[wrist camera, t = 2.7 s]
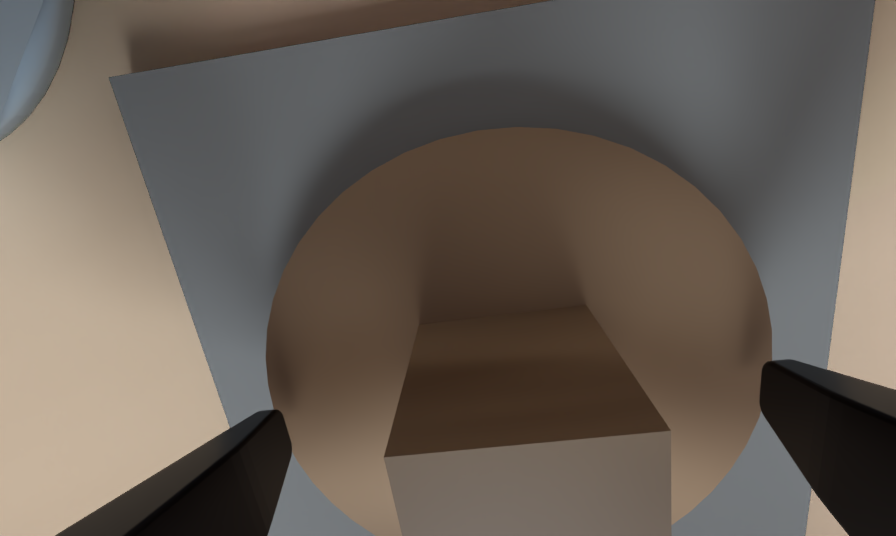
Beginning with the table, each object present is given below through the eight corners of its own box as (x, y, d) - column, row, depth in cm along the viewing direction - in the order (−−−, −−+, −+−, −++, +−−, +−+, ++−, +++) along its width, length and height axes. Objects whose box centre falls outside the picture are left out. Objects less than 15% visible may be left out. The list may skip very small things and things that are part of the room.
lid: (727, 512, 11) (914, 788, 6) (342, 541, 12) (261, 801, 7) (746, 87, 8) (1116, 27, 3) (234, 169, 9) (-16, 208, 4)
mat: (785, 545, 12) (800, 567, 11) (296, 576, 13) (288, 596, 13) (852, -44, 8) (883, -58, 7) (131, 80, 9) (109, 77, 8)
